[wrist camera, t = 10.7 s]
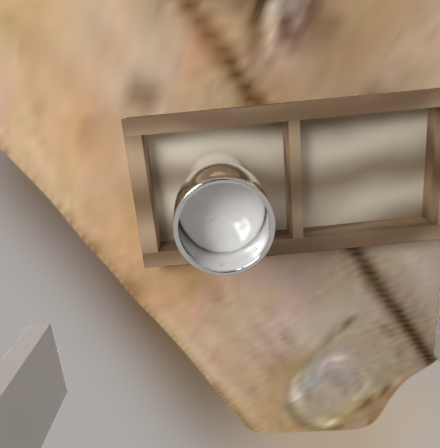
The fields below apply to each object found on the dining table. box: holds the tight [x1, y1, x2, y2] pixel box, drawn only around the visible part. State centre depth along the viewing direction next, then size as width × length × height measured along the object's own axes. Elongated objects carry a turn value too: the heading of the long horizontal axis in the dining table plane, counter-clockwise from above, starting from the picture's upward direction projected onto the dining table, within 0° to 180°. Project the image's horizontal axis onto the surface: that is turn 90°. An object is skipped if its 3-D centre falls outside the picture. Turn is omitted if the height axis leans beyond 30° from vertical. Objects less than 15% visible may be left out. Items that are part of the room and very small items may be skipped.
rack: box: [121, 88, 440, 268], centre depth 39 cm, size 14×30×4 cm, turn 95°
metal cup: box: [173, 152, 276, 276], centre depth 33 cm, size 7×7×15 cm
